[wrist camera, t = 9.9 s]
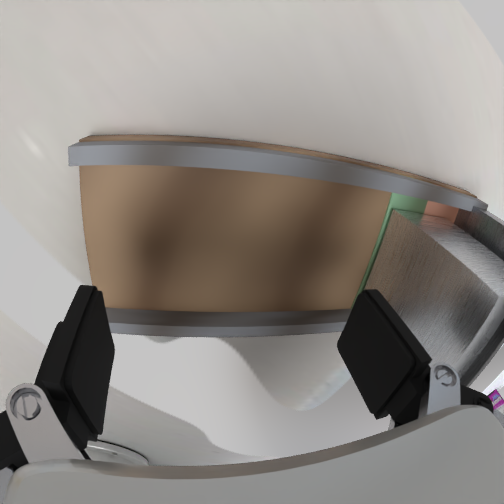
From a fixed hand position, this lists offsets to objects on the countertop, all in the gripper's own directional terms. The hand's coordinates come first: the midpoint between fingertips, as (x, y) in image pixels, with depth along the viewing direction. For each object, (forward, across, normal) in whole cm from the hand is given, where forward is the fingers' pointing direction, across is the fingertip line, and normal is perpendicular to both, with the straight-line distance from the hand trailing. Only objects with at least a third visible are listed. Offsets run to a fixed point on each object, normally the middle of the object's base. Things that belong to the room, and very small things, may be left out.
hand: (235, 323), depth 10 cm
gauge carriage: (+5, -11, 0) cm, 12 cm away
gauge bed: (+6, -5, 0) cm, 8 cm away
